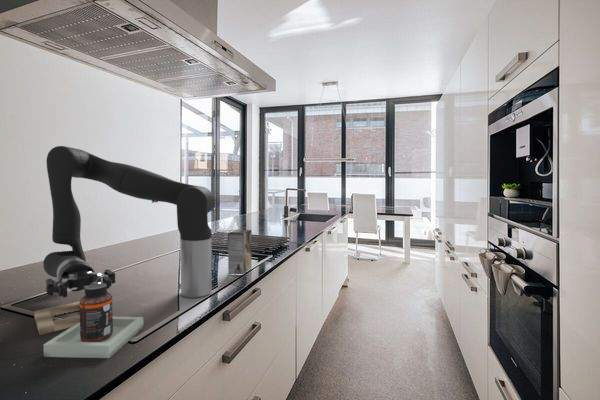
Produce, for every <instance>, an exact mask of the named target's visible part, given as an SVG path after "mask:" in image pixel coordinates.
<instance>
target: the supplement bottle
mask: <svg viewBox="0 0 600 400" xmlns="http://www.w3.org/2000/svg"><path fill="white" fill-rule="evenodd" d="M79 301H80V303H79V305H80V308H79V309H80V310H79V315H80V337H81V341H83V342H99V341H102V340H105V339H107V338H108V337H110V336H111V335H112V333H113V317H114V316H113V315H114V314H113V295H112V294H111V293H109V291H108V289H107V285H106V284H104V283H99V284H92V285H89V286H86V287H85V289H84V296H83V297H81V298H80V300H79Z"/></svg>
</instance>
